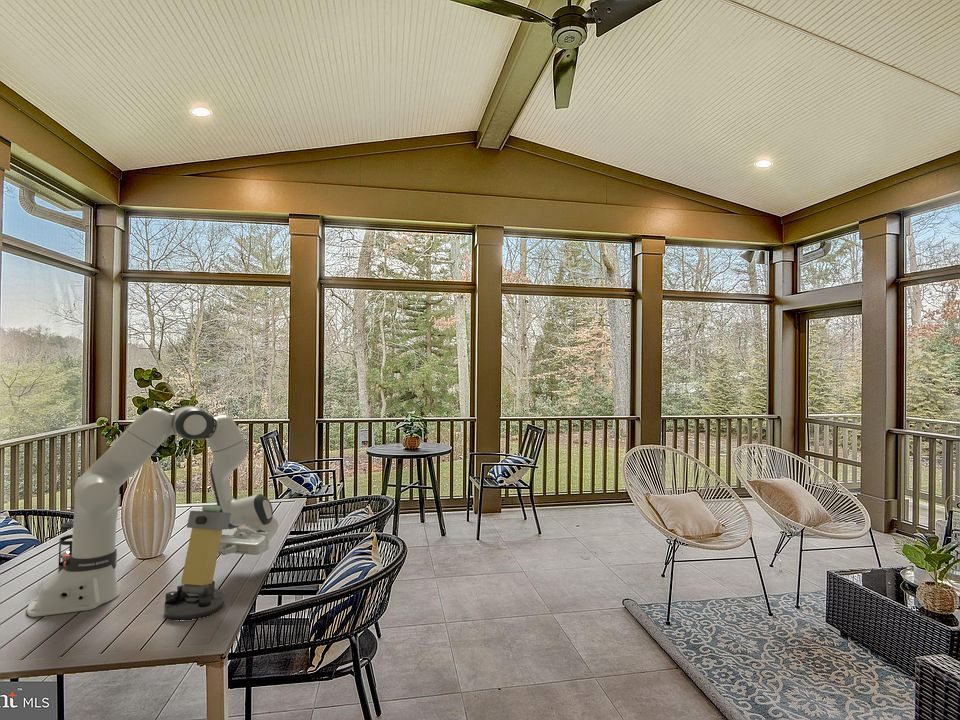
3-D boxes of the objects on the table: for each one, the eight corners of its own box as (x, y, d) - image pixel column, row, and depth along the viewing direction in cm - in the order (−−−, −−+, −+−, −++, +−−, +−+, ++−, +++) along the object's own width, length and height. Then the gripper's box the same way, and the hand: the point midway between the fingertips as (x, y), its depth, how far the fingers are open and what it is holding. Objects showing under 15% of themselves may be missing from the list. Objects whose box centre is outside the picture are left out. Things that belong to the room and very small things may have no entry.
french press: (87, 574, 182) (90, 508, 183) (53, 578, 178) (56, 510, 179) (94, 563, 193) (96, 500, 193) (62, 566, 189) (65, 502, 189)
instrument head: (198, 598, 153) (216, 506, 160) (168, 595, 155) (187, 503, 162) (215, 594, 161) (232, 506, 168) (186, 591, 162) (203, 504, 170)
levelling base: (201, 623, 150) (202, 599, 150) (151, 618, 152) (152, 594, 152) (235, 599, 166) (235, 577, 166) (189, 595, 168) (190, 573, 168)
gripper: (219, 528, 186) (192, 540, 173) (272, 532, 183) (249, 545, 170) (218, 546, 186) (191, 559, 173) (272, 550, 183) (249, 564, 170)
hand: (221, 552), depth 171 cm, fingers closed
